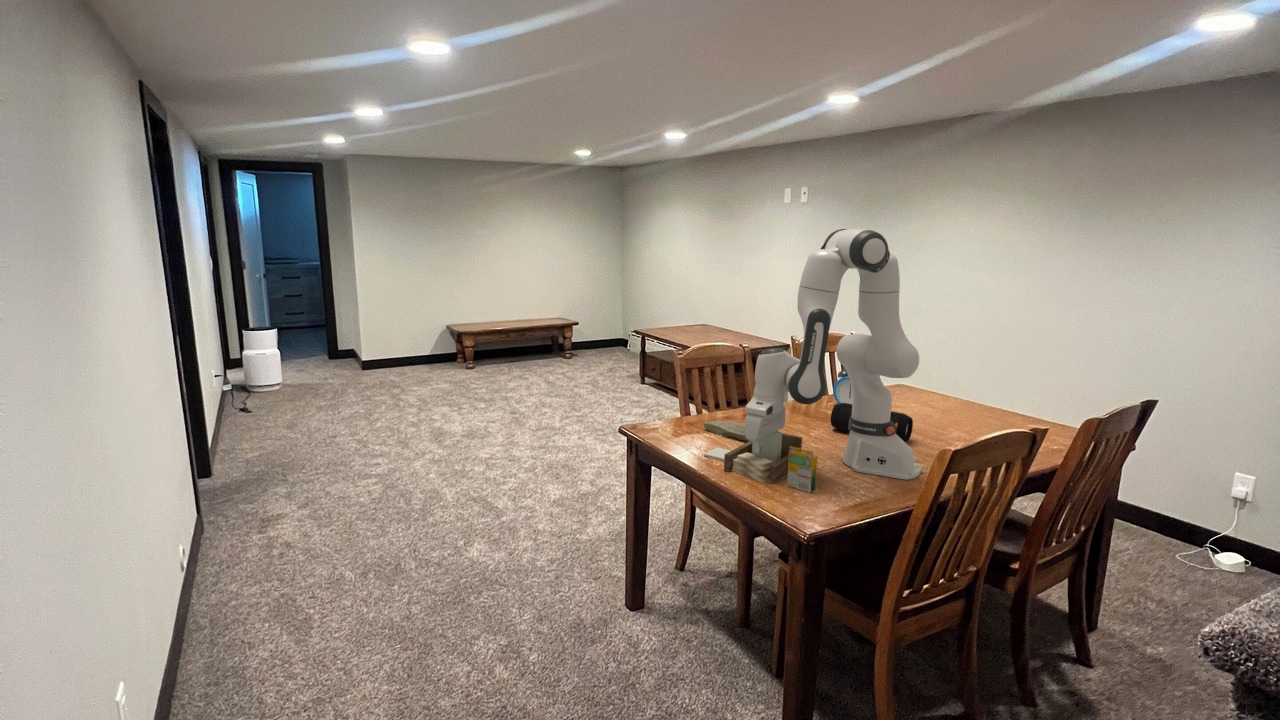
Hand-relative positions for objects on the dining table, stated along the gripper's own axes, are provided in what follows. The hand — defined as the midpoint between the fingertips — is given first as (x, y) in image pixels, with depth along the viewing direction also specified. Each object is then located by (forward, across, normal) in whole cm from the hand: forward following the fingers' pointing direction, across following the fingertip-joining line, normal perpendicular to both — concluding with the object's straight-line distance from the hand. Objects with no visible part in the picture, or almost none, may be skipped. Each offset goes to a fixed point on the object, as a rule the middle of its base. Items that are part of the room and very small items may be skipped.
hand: (764, 448), depth 198 cm
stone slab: (+6, -24, -17) cm, 30 cm away
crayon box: (+6, +8, +15) cm, 18 cm away
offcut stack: (+6, +7, 0) cm, 10 cm away
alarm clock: (+4, -83, -2) cm, 83 cm away
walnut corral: (+6, +2, 0) cm, 6 cm away
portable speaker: (+5, -51, +16) cm, 54 cm away
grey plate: (+6, -1, -13) cm, 14 cm away
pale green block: (+6, -1, 0) cm, 6 cm away
